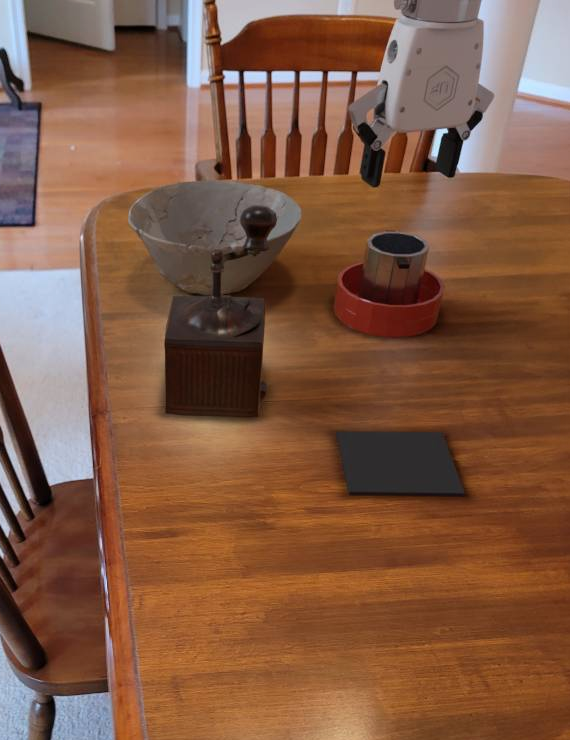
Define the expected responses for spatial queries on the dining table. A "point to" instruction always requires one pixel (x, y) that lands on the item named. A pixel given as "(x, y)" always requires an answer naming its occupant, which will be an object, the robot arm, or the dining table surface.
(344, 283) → the shallow red bowl
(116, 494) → the dining table surface
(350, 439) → the rubber mat
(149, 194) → the ceramic bowl
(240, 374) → the manual coffee grinder
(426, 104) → the robot arm
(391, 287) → the steel pot
